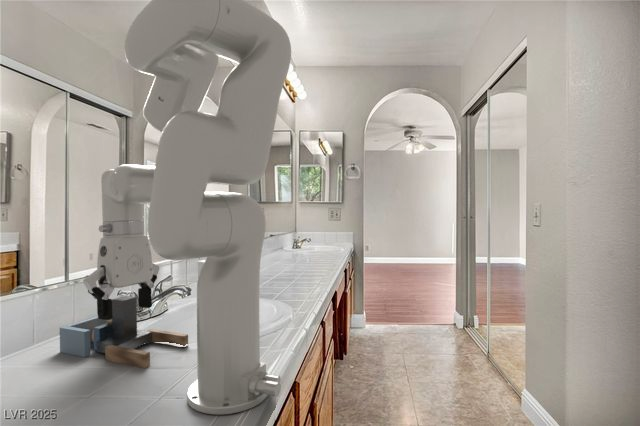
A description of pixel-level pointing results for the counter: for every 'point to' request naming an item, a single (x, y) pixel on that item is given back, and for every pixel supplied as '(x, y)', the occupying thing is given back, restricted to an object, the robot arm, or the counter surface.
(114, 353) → the rail
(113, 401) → the counter surface
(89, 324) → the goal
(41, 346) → the counter surface
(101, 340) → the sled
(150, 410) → the counter surface
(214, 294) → the robot arm
